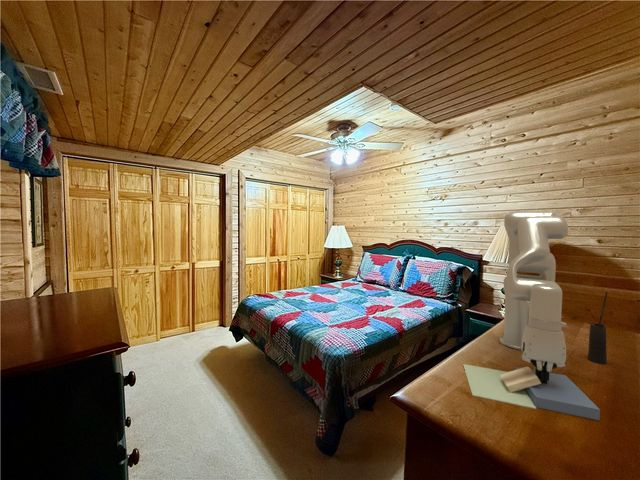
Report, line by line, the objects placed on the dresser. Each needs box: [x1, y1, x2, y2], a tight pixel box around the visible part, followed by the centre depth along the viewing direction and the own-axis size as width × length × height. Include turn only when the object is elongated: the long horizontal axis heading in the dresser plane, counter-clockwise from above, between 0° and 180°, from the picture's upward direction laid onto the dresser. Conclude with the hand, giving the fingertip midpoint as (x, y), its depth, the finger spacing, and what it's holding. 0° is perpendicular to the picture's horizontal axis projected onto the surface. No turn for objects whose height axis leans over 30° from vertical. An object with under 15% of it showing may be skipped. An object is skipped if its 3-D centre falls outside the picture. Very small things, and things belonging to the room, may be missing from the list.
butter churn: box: [587, 291, 608, 365], centre depth 104 cm, size 9×10×28 cm
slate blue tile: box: [514, 366, 601, 421], centre depth 81 cm, size 18×14×3 cm
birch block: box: [500, 365, 541, 392], centre depth 84 cm, size 7×9×2 cm
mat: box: [462, 363, 537, 410], centre depth 87 cm, size 20×16×1 cm
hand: (541, 381), depth 82 cm, fingers closed
